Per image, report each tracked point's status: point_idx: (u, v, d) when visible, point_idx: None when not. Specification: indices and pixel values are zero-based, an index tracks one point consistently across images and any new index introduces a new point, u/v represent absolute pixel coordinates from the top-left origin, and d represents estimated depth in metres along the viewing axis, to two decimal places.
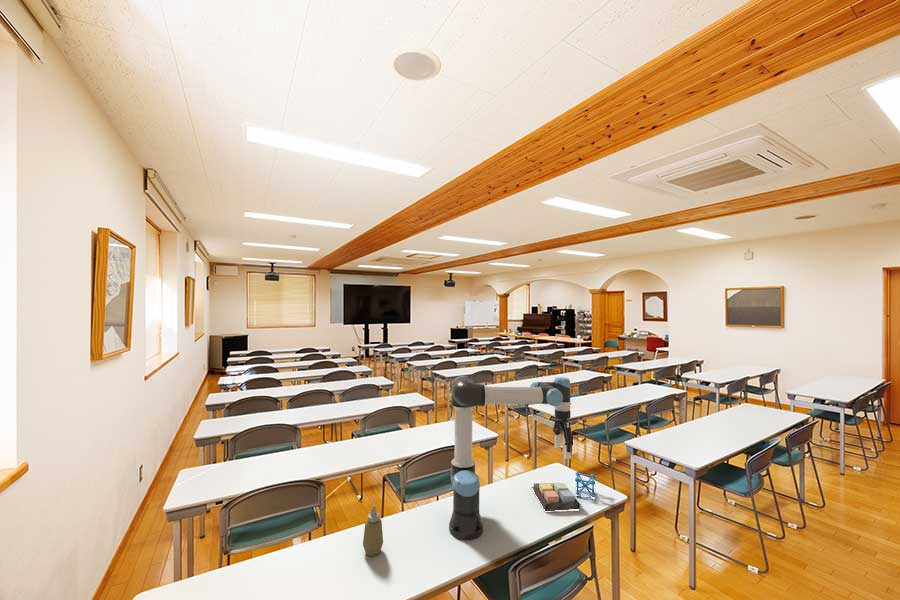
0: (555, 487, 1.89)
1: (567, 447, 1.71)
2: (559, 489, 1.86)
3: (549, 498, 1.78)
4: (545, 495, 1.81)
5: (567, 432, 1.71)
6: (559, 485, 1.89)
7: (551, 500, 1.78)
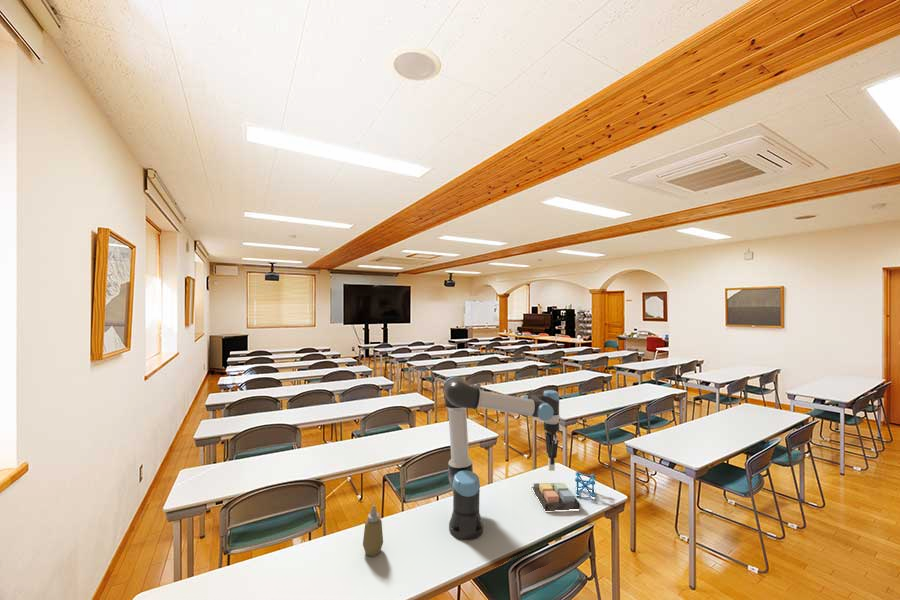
0: (555, 487, 1.89)
1: (551, 459, 1.80)
2: (559, 489, 1.86)
3: (549, 498, 1.78)
4: (545, 495, 1.81)
5: (553, 448, 1.77)
6: (559, 485, 1.89)
7: (551, 500, 1.78)
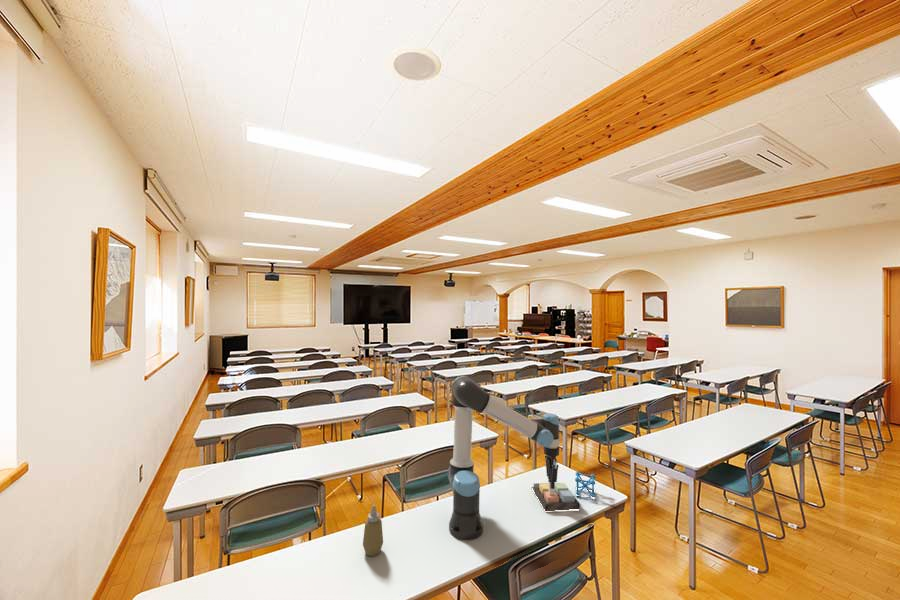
0: (555, 487, 1.89)
1: (551, 484, 1.80)
2: (559, 489, 1.86)
3: (549, 499, 1.78)
4: (545, 496, 1.81)
5: (553, 472, 1.76)
6: (559, 485, 1.89)
7: (551, 501, 1.78)
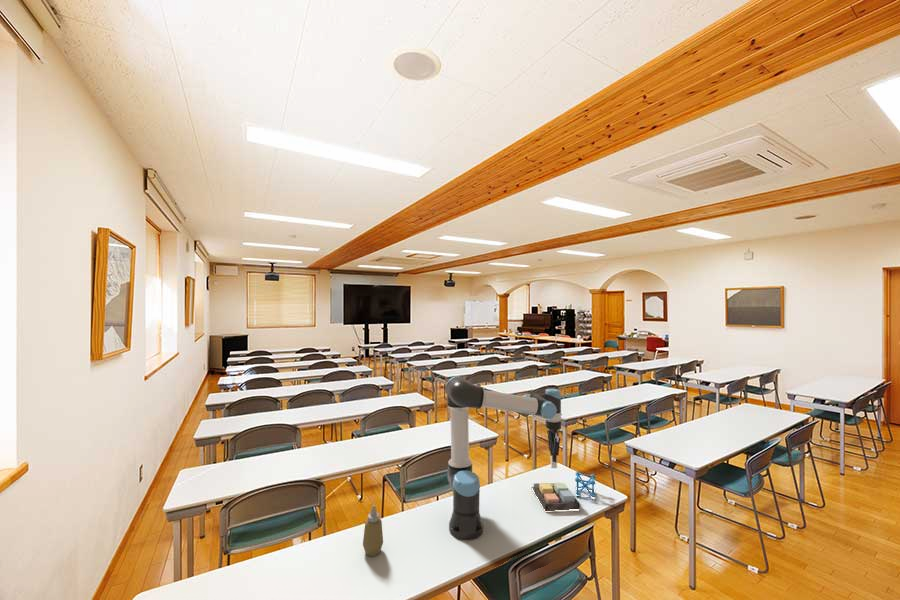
0: (555, 487, 1.89)
1: (553, 457, 1.81)
2: (559, 489, 1.86)
3: (549, 501, 1.78)
4: (545, 498, 1.81)
5: (555, 445, 1.78)
6: (559, 485, 1.89)
7: None
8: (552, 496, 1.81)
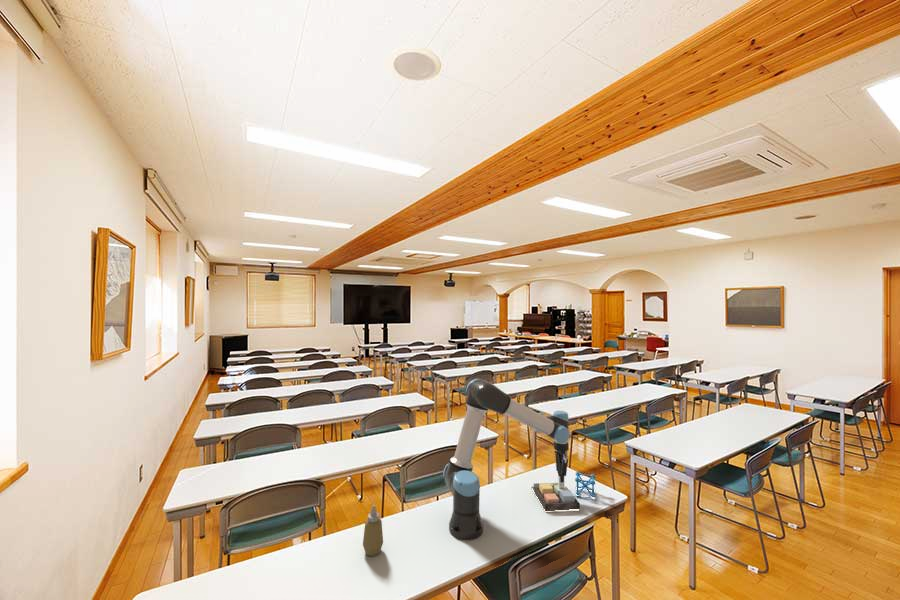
0: (555, 489, 1.89)
1: (560, 477, 1.88)
2: (559, 491, 1.86)
3: (549, 501, 1.78)
4: (545, 498, 1.81)
5: (563, 467, 1.85)
6: None
7: None
8: (552, 496, 1.81)
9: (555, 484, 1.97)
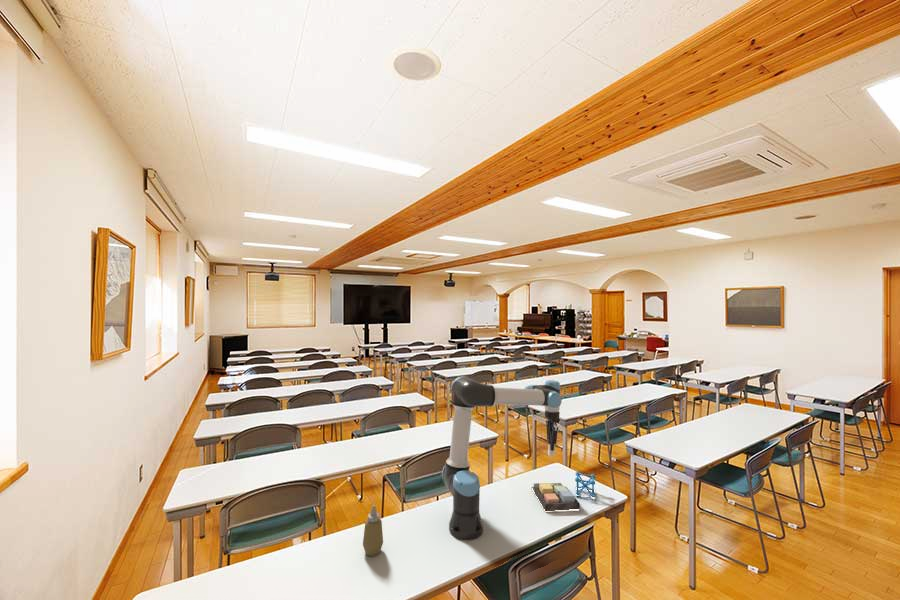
0: (555, 490, 1.89)
1: (551, 446, 1.90)
2: (559, 492, 1.86)
3: (549, 501, 1.78)
4: (545, 498, 1.81)
5: (553, 434, 1.86)
6: (559, 488, 1.89)
7: None
8: (552, 496, 1.81)
9: (555, 484, 1.97)
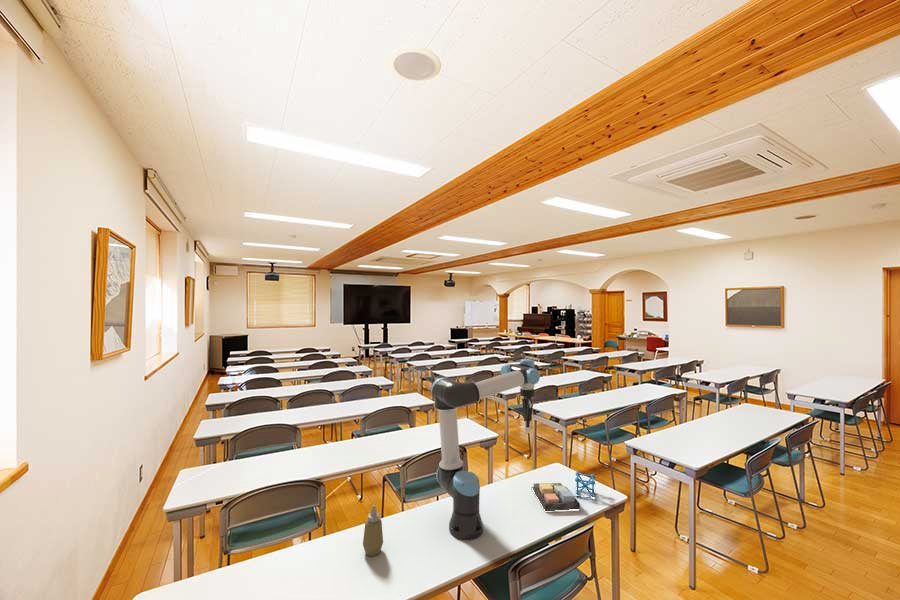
0: (555, 490, 1.89)
1: (526, 423, 1.93)
2: (559, 492, 1.86)
3: (549, 501, 1.78)
4: (545, 498, 1.81)
5: (528, 411, 1.90)
6: (559, 488, 1.89)
7: None
8: (552, 496, 1.81)
9: (555, 484, 1.97)
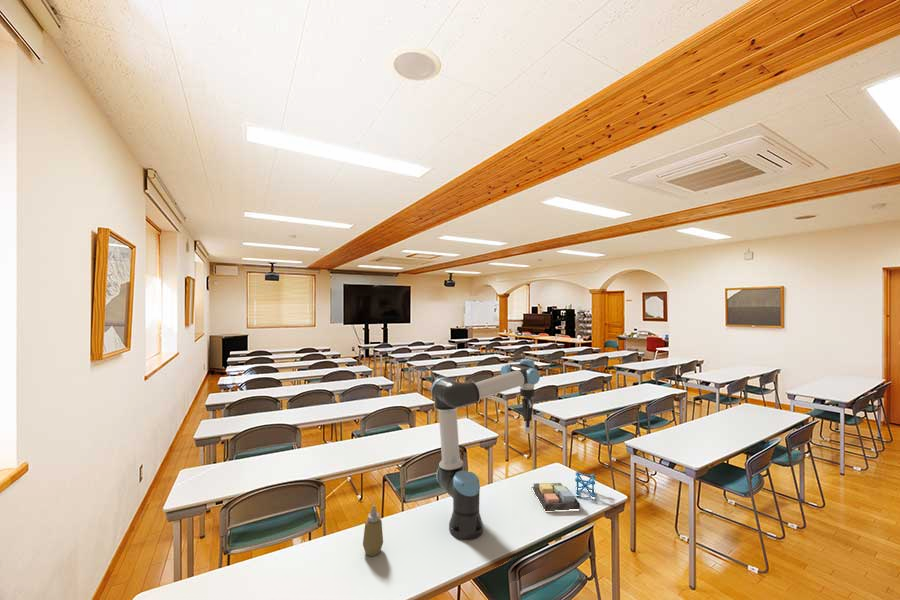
0: (555, 490, 1.89)
1: (526, 423, 1.93)
2: (559, 492, 1.86)
3: (549, 501, 1.78)
4: (545, 498, 1.81)
5: (528, 411, 1.90)
6: (559, 488, 1.89)
7: None
8: (552, 496, 1.81)
9: (555, 484, 1.97)
